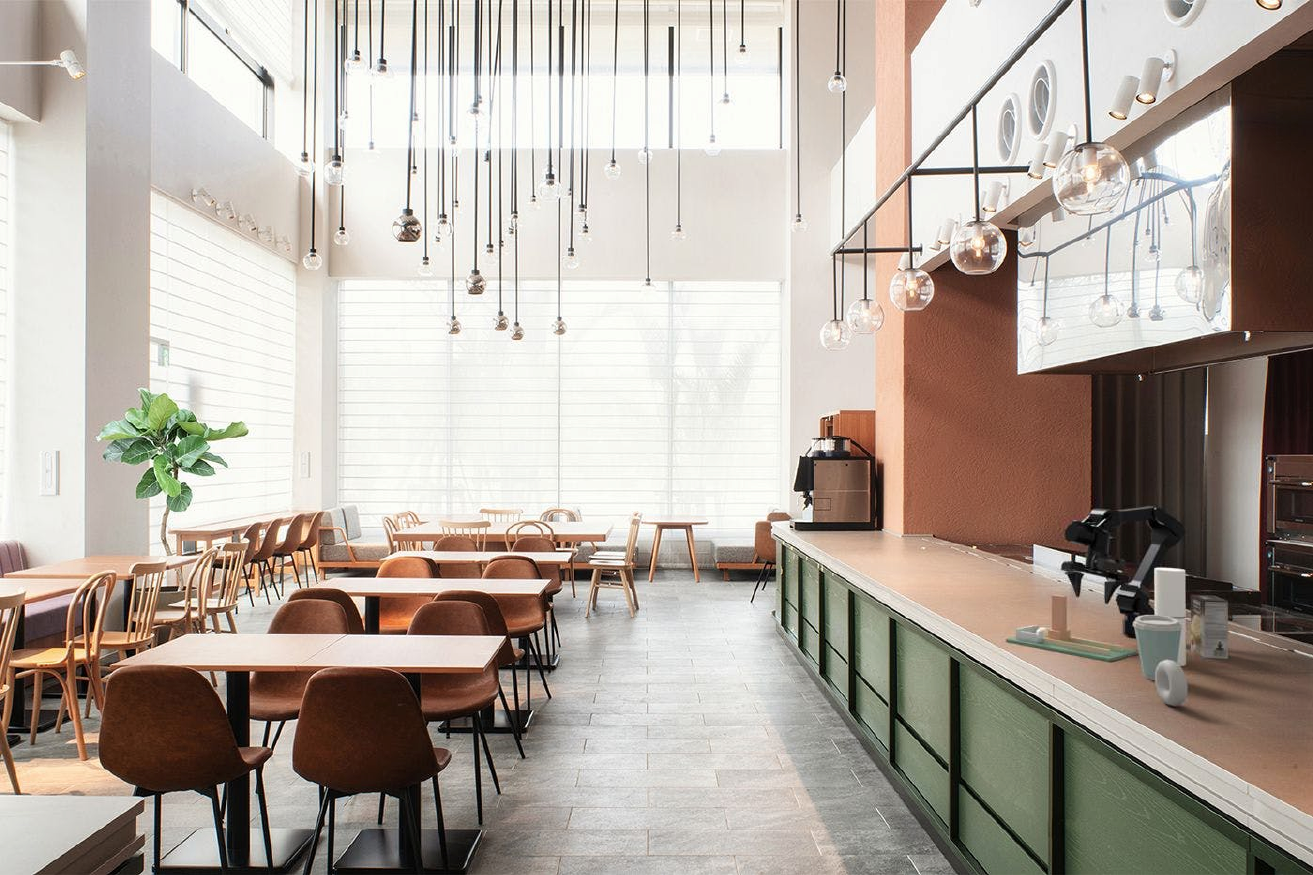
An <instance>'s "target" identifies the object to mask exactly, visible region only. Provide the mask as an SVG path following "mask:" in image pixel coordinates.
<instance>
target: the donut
mask: <svg viewBox="0 0 1313 875" xmlns="http://www.w3.org/2000/svg"><path fill="white" fill-rule="evenodd" d="M1154 682H1155V687H1156V691H1157V693H1158V695H1159V698H1160V699H1161V700H1162V701H1163V702H1164V703H1165V704H1167V705H1168V706H1172V707H1178V706H1181V705H1182V704H1184V702H1185V701H1186V699H1187V696H1188V680H1187V677H1186V674H1185V672H1184V670H1183V668H1182V667H1181V666H1179V665H1178V664H1177V663H1176V662H1174V661H1171V660H1164V661H1162V662H1160V663H1159V664H1158V666H1157V668H1156V672H1155V680H1154Z"/></svg>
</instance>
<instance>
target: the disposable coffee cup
mask: <svg viewBox="0 0 1313 875" xmlns="http://www.w3.org/2000/svg"><path fill="white" fill-rule="evenodd" d="M1133 626H1134V629H1135V634H1136V637H1135V638H1136V644H1137V647H1138V648H1137V649H1138V654H1139V658H1140V663H1141V664H1140V665H1141V669H1142V674H1143V675H1144V677H1145V678H1146V679H1147V680H1151V681H1155V672H1156V668H1157V666H1158V664H1159V663H1160V662H1162V661H1164V660H1171V661H1174V662H1176V663H1177V658H1178V650H1179V643H1180V635H1181V630H1182V625H1180V624H1179V621H1178V620H1176V619H1175V618H1171V617H1168V616H1159V615H1144V616H1138V617H1137V618H1135V621H1134V622H1133Z"/></svg>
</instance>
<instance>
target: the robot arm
mask: <svg viewBox="0 0 1313 875" xmlns="http://www.w3.org/2000/svg"><path fill="white" fill-rule="evenodd" d="M1141 521H1146V524H1147V526H1148V527H1149V529H1151V532H1150V539H1151V544H1150V545H1149V547H1148V550H1147V552H1146V554H1145V556H1144V558H1143V559H1142V561H1141V563H1140V565H1139V567H1138V569H1137V571H1136V573H1135V574H1134V577H1133V579H1132V580H1131V582H1130V575H1129V574H1128V573H1127V572H1123V571H1124V570H1125V567H1126V561H1125V560H1123V559H1121V558H1116V559H1112V554H1111V553H1109V546H1110V539H1115V538H1116V537H1117V536H1116V534H1114V532H1113V531H1112V529H1115V528H1118V527H1121V526H1122V525H1123V524H1125V523H1126V524H1127V523H1132V522H1141ZM1185 534H1186V529H1185V527H1184V524H1183V523H1182V522H1180V521H1178V520H1177V519H1176V518H1175V517H1174V516H1172V515H1170V514H1169V513H1167V512H1165V510H1163V509H1162V508H1161V507H1160V506H1154V505H1145V506H1142V507H1141V506H1140V507H1135V508H1134V507H1133V508H1126V509H1124V508H1123V509H1118V510H1116V509H1113V510H1112V509H1105V508H1104V509H1102V508H1094V509H1092V510H1091V511H1090V513H1089V515H1088V516H1086V518H1084V519H1083V521H1080V520H1074V519H1073V520H1072V521H1071V523H1070V524H1069V525H1068V526H1067V527H1066V529H1065V530H1064V537H1065V540H1066V541H1067V542H1069V543H1073V544H1077V545H1079V546H1084V547H1086V550H1085V551H1083V555H1084V556H1085V562H1084V563H1085V564H1084V563H1082V562H1080V561H1079V562H1078V561H1075V560H1065V561H1063V562H1062V563H1061V566H1060V570H1061V571H1062V572H1063V571H1064V575H1067V577H1068V579H1069V581H1070V583H1071V587H1072V590H1073V592H1074V595H1075V597H1076V598H1080V597H1081V596H1080V595H1081V589H1082V581H1083V580H1082V579H1083V578H1084V576H1085V574H1088V575H1093V576H1097V577H1101V578H1105V579H1106V581H1104V582H1103V583H1104V586H1103V588H1104V590H1103V591H1104V592H1103V593H1104V594H1103V599H1104V604H1105V605H1108V604H1110V603H1109V602H1111V599H1112V597H1113V596H1114V594H1116V597H1115V602H1116V605H1117V608H1118V611H1119V614H1121V615H1124V618H1123V619H1122V634H1123V635H1125V636H1126V637H1128V638H1136V634H1135V629H1134V626H1133V622H1134V621H1135V618H1137V617H1138V616H1144V615H1155V608H1153V607H1152V606H1151V605H1150V600H1151V595H1150V587H1151V585H1152V583H1153V581H1154V568H1161V566H1162V564H1163V562H1164V561H1165V558H1166V556H1167V554H1168V552H1169V551H1170V550H1171V549H1172V548H1174V547H1175V546H1177V545H1178V544H1179V543H1180V542H1181V541H1182V539H1183V538H1184V537H1185ZM1118 588H1119V589H1118ZM1117 589H1118V591H1117ZM1116 591H1117V592H1116ZM1115 592H1116V593H1115Z"/></svg>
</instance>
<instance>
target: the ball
mask: <svg viewBox="0 0 1313 875" xmlns="http://www.w3.org/2000/svg"><path fill="white" fill-rule="evenodd" d="M1045 628H1046V627H1043V628H1039V629H1038V630H1037V631H1043V637H1044V638H1048V630H1047V629H1045ZM1037 631H1036V634H1037Z"/></svg>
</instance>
